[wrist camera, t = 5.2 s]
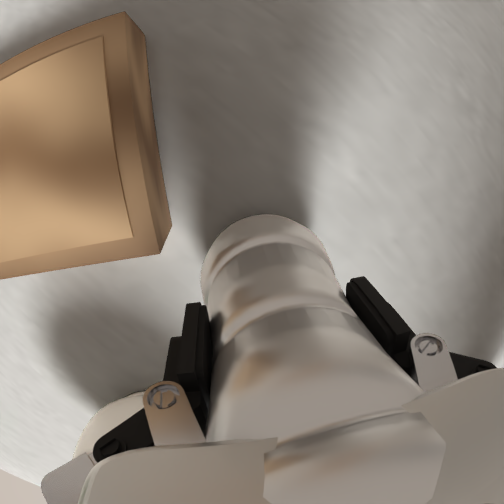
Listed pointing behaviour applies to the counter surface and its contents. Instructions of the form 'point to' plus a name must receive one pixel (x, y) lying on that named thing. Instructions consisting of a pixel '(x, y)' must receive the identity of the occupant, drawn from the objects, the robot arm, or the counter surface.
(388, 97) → the counter surface
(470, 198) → the counter surface
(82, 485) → the robot arm
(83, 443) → the lidded bowl
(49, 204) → the base slab
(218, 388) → the plastic bottle
